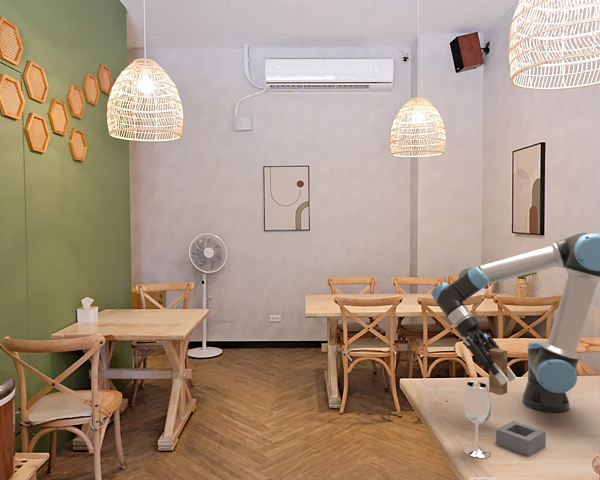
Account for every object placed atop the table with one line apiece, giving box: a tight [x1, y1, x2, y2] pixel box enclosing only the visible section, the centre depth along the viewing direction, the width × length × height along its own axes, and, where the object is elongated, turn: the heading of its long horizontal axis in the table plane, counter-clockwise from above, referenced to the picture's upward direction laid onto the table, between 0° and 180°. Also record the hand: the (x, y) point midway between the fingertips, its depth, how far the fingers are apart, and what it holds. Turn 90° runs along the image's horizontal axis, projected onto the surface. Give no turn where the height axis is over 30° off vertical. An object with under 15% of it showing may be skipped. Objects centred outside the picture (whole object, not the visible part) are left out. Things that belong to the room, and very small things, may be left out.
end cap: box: [495, 420, 547, 457], centre depth 140 cm, size 10×10×4 cm
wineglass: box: [462, 380, 492, 459], centre depth 136 cm, size 8×8×20 cm
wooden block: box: [488, 347, 508, 396], centre depth 153 cm, size 4×4×14 cm
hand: (509, 381), depth 150 cm, fingers closed on wooden block, 4 cm apart
